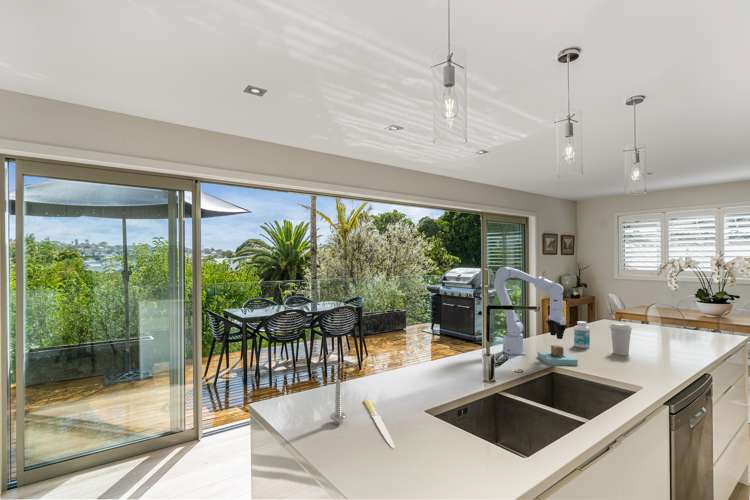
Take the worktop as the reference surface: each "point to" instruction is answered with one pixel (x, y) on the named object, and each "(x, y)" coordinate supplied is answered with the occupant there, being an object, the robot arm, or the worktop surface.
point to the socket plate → (557, 359)
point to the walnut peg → (556, 351)
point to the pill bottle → (582, 335)
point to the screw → (338, 406)
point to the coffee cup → (621, 338)
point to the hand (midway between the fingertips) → (556, 337)
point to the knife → (379, 422)
